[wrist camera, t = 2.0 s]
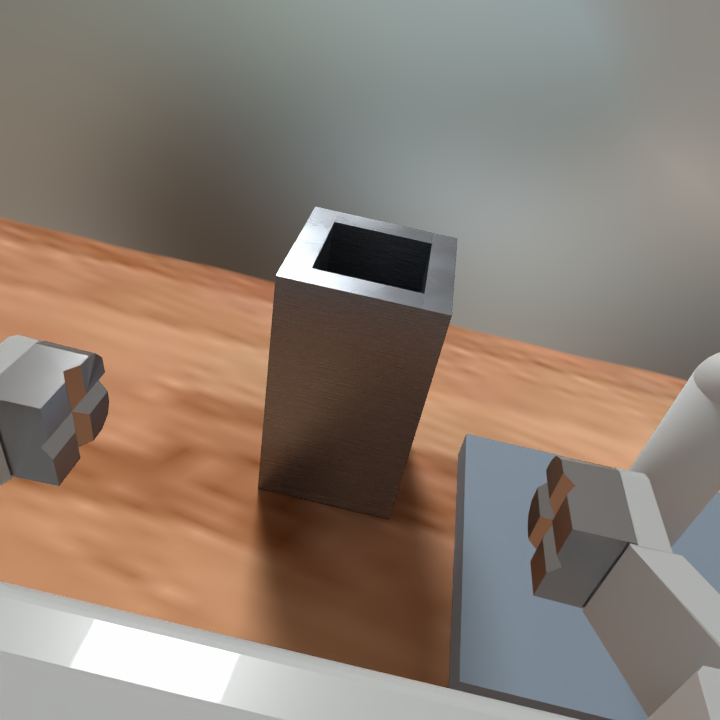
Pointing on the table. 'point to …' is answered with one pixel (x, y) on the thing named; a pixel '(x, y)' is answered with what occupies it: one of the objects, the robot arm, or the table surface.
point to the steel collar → (352, 358)
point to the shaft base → (514, 550)
